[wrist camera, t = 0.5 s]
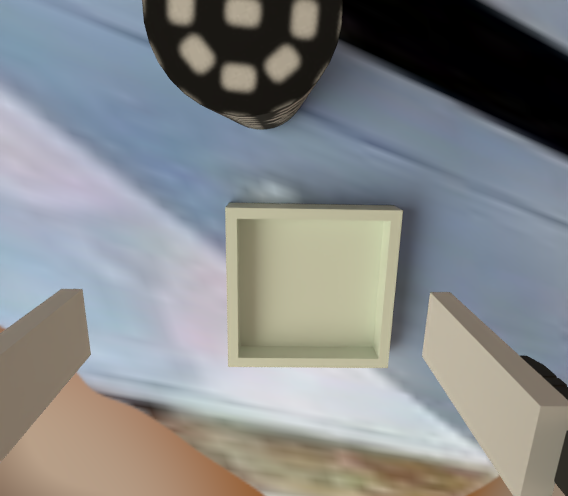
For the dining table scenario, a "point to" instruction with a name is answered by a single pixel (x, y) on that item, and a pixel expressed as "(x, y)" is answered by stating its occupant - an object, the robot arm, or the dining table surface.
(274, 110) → the spotted tube
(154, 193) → the dining table surface
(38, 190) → the dining table surface
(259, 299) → the tray
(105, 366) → the dining table surface
